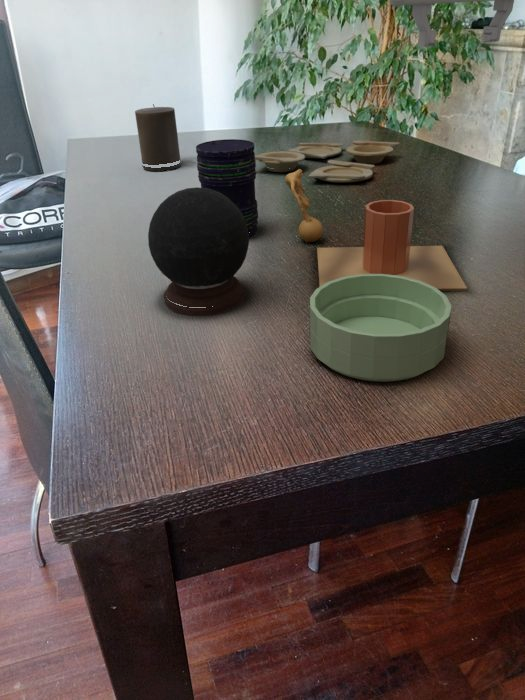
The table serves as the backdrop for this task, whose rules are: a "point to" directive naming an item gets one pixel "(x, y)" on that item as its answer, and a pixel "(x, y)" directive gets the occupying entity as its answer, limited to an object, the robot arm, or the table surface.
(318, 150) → the tableware set
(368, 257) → the cup
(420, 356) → the bowl
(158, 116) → the pillar candle
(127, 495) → the table surface
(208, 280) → the black ball on stand
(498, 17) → the robot arm
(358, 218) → the table surface
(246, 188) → the storage jar
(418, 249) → the placemat
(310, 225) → the figurine
